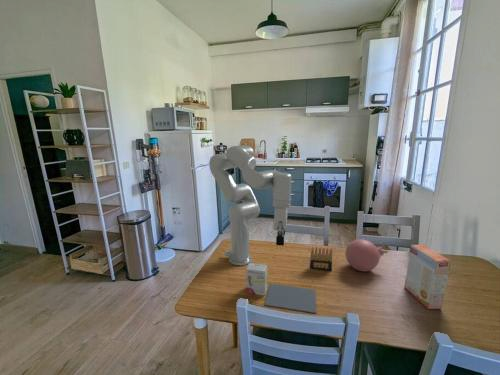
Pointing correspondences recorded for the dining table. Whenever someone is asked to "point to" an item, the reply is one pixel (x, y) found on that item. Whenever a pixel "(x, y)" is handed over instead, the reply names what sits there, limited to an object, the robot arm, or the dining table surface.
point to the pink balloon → (363, 255)
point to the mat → (291, 298)
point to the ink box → (256, 279)
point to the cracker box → (427, 276)
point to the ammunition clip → (321, 260)
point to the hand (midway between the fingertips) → (280, 239)
